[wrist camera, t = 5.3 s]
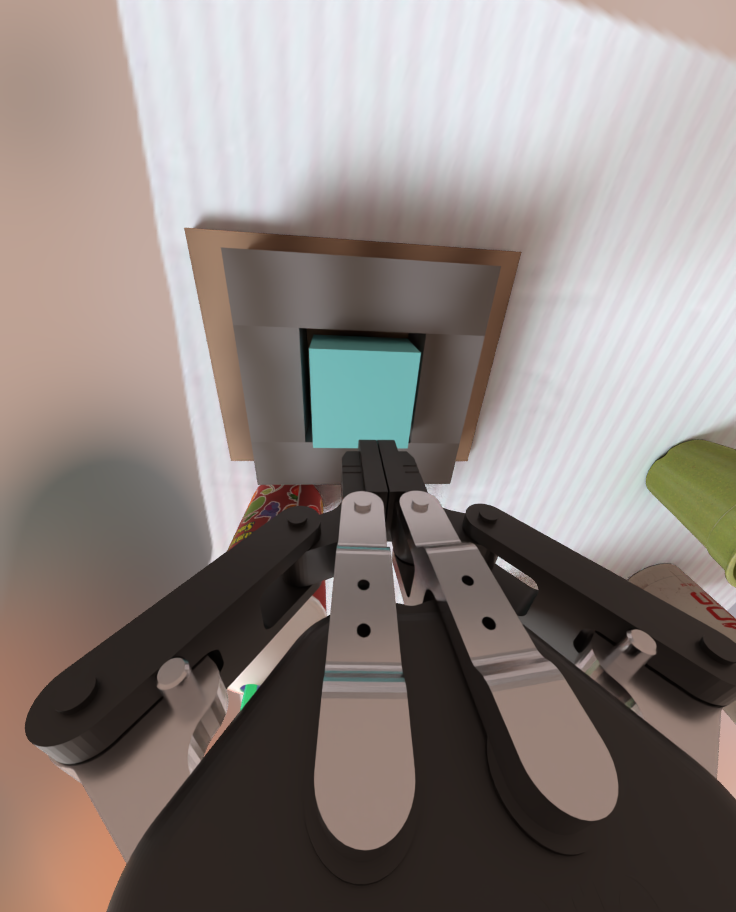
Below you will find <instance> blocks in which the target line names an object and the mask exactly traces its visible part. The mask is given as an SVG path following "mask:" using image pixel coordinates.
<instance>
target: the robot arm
mask: <svg viewBox="0 0 736 912" xmlns="http://www.w3.org/2000/svg"><path fill="white" fill-rule="evenodd" d="M341 495H342V502H341V504H340V505H339V506H338V507H337V508H335V509H334V510H332V511H330V512H327V513H323V514H319V513H318V512H317V511H316V510H314V509H313V508H310V507H307V506H294V507H290V508H287V509H285V510H283V511H282V512H280V513H279V514H278V515H276V516H275V517H273V518H272V519H271V520H269V521H268V522H267V523H265V524H264V525H263V526H261V527H260V528H258V529H257V530H256V531H254V532H253V533H252V534H250V535H249V536H247V537H246V538H245V539H243V540H242V541H241V542H239V543H238V544H237V545H235V546H234V547H232V548H231V549H230V550H228V551H227V552H226V553H224V554H223V555H221V556H220V557H219V558H217V559H216V560H215V561H213V562H212V563H210V564H209V565H208V566H206V567H205V568H204V569H203V570H201V571H200V572H198V573H197V574H195V575H194V576H193V577H191V578H190V579H189V580H187V581H186V582H185V583H183V584H182V585H181V586H179V587H178V588H176V589H175V590H174V591H172V592H171V593H169V594H168V595H167V596H166V597H164V598H163V599H161V600H160V601H158V602H157V603H156V604H154V605H153V606H152V607H150V608H149V609H148V610H146V611H145V612H143V613H142V614H141V615H139V616H138V617H137V618H135V619H134V620H132V621H131V622H130V623H128V624H127V625H126V626H124V627H123V628H122V629H120V630H119V631H117V632H116V633H115V634H113V635H112V636H111V637H109V638H108V639H106V640H105V641H104V642H102V643H101V644H100V645H98V646H97V647H96V648H94V649H93V650H92V651H90V652H89V653H87V654H86V655H84V656H83V657H82V658H80V659H79V660H78V661H76V662H75V663H74V664H72V665H71V666H70V667H68V668H67V669H65V670H64V671H63V672H61V673H60V674H59V675H58V676H56V677H55V678H54V679H53V680H52V681H51V682H50V683H49V684H48V685H47V686H46V687H45V688H44V689H43V690H42V692H41V693H40V694H39V695H38V697H37V698H36V699H35V701H34V703H33V705H32V706H31V708H30V710H29V712H28V715H27V718H26V722H25V733H26V736H27V738H28V740H29V741H30V742H31V743H32V744H34V745H35V746H36V747H38V748H39V749H41V750H42V751H43V752H45V753H46V754H48V756H49V758H50V760H51V761H52V762H53V763H54V764H55V765H56V766H58V767H59V768H60V769H62V770H63V771H65V772H66V773H67V774H69V775H70V776H72V777H73V778H74V779H76V780H77V781H79V782H80V783H82V785H83V787H84V788H85V790H86V792H87V794H88V796H89V797H90V799H91V801H92V803H93V804H94V806H95V808H96V810H97V811H98V813H99V815H100V817H101V819H102V821H103V822H104V824H105V826H106V828H107V830H108V831H109V833H110V835H111V837H112V839H113V840H114V842H115V844H116V846H117V848H118V849H119V851H120V853H121V855H122V856H123V858H124V860H125V862H126V866H125V868H124V870H123V872H122V874H121V877H120V879H119V881H118V883H117V886H116V888H115V890H114V893H113V895H112V898H111V900H110V903H109V906H108V909H107V912H736V799H735V798H734V797H733V796H732V795H731V794H730V793H729V791H728V790H727V789H726V788H725V787H724V786H723V785H722V784H721V783H720V782H719V781H718V780H717V768H718V752H719V751H718V750H719V737H720V720H721V710H722V709H723V708H725V707H727V706H728V705H729V704H731V703H733V702H734V701H736V643H735V642H734V641H732V640H731V639H730V638H728V637H727V636H725V635H724V634H722V633H720V632H719V631H717V630H715V629H713V628H712V627H710V626H708V625H706V624H704V623H703V622H701V621H699V620H697V619H695V618H694V617H692V616H690V615H688V614H686V613H685V612H683V611H681V610H679V609H677V608H676V607H674V606H672V605H670V604H668V603H667V602H665V601H663V600H661V599H659V598H658V597H656V596H654V595H652V594H650V593H649V592H647V591H645V590H643V589H642V588H640V587H638V586H636V585H634V584H633V583H631V582H629V581H627V580H625V579H624V578H622V577H620V576H618V575H616V574H615V573H613V572H611V571H609V570H607V569H606V568H604V567H602V566H600V565H598V564H597V563H595V562H593V561H591V560H589V559H588V558H586V557H584V556H582V555H580V554H579V553H577V552H575V551H573V550H571V549H570V548H568V547H566V546H564V545H562V544H561V543H559V542H557V541H555V540H553V539H552V538H550V537H548V536H546V535H544V534H543V533H541V532H539V531H537V530H535V529H534V528H532V527H530V526H528V525H526V524H525V523H523V522H521V521H519V520H517V519H516V518H514V517H512V516H510V515H508V514H507V513H505V512H503V511H501V510H499V509H498V508H495V507H493V506H490V505H487V504H474V505H471V506H469V507H468V508H467V510H466V513H461V512H456V511H451V510H448V509H445V508H442V506H441V504H440V502H439V501H438V499H437V498H436V497H434V496H433V495H431V494H429V493H428V492H427V489H426V487H425V484H424V482H423V479H422V477H421V474H420V473H419V469H418V467H417V464H416V462H415V459H414V457H412V456H411V455H410V454H409V453H408V452H407V451H398V449H397V446H396V443H395V440H377V441H376V440H359V441H358V451H346V453H345V454H344V455H343V457H342V471H341ZM388 541H392V545H393V551H392V559H391V551H390V547H387V542H388ZM498 556H499V557H500V558H502V559H503V560H505V561H506V562H508V563H509V564H511V565H512V566H514V567H516V568H517V569H519V570H520V571H522V572H523V573H525V574H526V575H528V576H529V577H531V578H532V579H533V580H534V581H535V582H536V584H537V586H538V589H539V590H535V589H533V588H531V587H529V586H528V585H526V584H525V583H523V582H522V581H520V580H519V579H517V578H516V577H514V576H513V575H511V574H510V573H508V572H507V571H505V570H504V569H502V568H501V567H500V566H498V565H497V564H495V563H496V560H497V558H498ZM392 562H393V565H394V569H395V572H396V576H397V580H398V583H399V587H400V590H401V594H402V597H403V601H404V604H398V603H396V602H395V591H394V581H393V570H392ZM332 577H334V581H333V591H332V602H331V613H330V615H329V616H327V617H325V618H322V619H321V620H319V621H318V622H316V623H314V624H313V625H312V626H310V627H309V628H308V629H307V630H306V631H305V632H304V633H303V634H302V635H301V636H299V638H298V639H297V640H296V641H295V642H294V644H293V645H292V646H291V648H290V649H289V650H288V651H287V653H286V654H285V655H284V656H283V658H282V659H281V660H280V661H279V663H278V664H277V665H276V666H275V668H274V669H273V670H272V672H271V673H270V674H269V675H268V677H267V678H266V679H265V680H264V682H263V683H262V684H261V685H260V687H259V688H258V689H257V691H256V692H255V693H254V694H253V696H252V697H251V698H250V699H249V701H248V702H247V703H246V704H245V706H244V707H243V708H242V710H241V711H240V712H239V713H238V715H237V716H236V717H235V718H234V720H233V721H232V722H231V723H230V725H229V726H228V727H227V728H226V730H225V731H224V732H223V734H222V735H221V736H220V737H219V739H218V740H217V741H216V742H215V744H214V745H213V746H212V748H211V749H210V750H209V751H208V753H207V754H206V755H205V756H204V754H205V752H206V749H207V747H208V745H209V743H210V741H211V739H212V738H213V736H214V735H215V733H216V732H217V730H218V729H219V728H220V726H221V724H222V722H223V720H224V717H225V715H226V712H227V708H228V694H227V690H226V689H227V688H228V687H229V686H230V685H231V684H232V683H233V682H234V681H235V680H236V678H237V677H238V676H239V675H240V674H241V673H242V672H243V671H244V670H245V669H246V667H247V666H248V665H249V664H250V663H251V662H252V661H253V660H254V659H255V658H256V657H257V655H258V654H259V653H260V652H261V651H262V650H263V649H264V648H265V647H266V646H267V644H268V643H269V642H270V641H271V640H272V639H273V638H274V637H275V636H276V635H277V634H278V632H279V631H280V630H281V629H282V628H283V627H284V626H285V625H286V624H287V623H288V621H289V620H290V619H291V618H292V617H293V616H294V615H295V614H296V613H297V612H298V610H299V609H300V608H301V607H302V606H303V605H304V604H305V603H306V602H307V601H308V600H309V598H310V597H311V596H312V595H313V594H314V593H315V592H316V591H317V590H318V588H319V587H320V585H321V583H322V581H324V580H327V579H329V578H332Z"/></svg>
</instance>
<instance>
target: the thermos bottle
mask: <svg viewBox="0 0 736 912" xmlns="http://www.w3.org/2000/svg"><path fill="white" fill-rule="evenodd" d="M628 581H629V582H631V583H633V584H634V585H636V586H638V587H640V588H642V589H643V590H645V591H647V592H649V593H650V594H652V595H654V596H656V597H658V598H659V599H661V600H663V601H665V602H667V603H668V604H670V605H672V606H674V607H676V608H677V609H679V610H681V611H683V612H685V613H686V614H688V615H690V616H692V617H694V618H695V619H697V620H699V621H701V622H703V623H704V624H706V625H708V626H710V627H712V628H713V629H715V630H717V631H719V632H720V633H722V634H724V635H725V636H727V637H728V638H730V639H731V640H732V641H734V642H735V643H736V619H735V618H734V617H733V616H732V615H731V614H730V613H729V612H728V611H726V610H725V609H724V608H723V607H722V606H721V605H720V604H719V603H717V602H716V601H715V600H714V599H713V598H712V597H711V596H710V595H708V594H707V593H706V592H705V591H704V590H703V589H702V588H701V587H699V586H698V585H697V584H696V583H695V582H694V581H693V580H692V579H690V578H689V577H688V576H687V575H686V574H685V573H684V572H683V571H681V570H680V569H679V568H678V567H677V566H675V565H672V564H658V565H654V566H651V567H648V568H646V569H643V570H641V571H639V572H638V573H636V574H635V575H633V576H632V577H631V578H630V579H629V580H628ZM723 710H724V711H725V713H726V714H727V715H728V716H729V717H730V718H731V720H732V721H733V722H734V723H735V724H736V701H734V702H733V703H731V704H729V705H728V706H727V707H725V708H723Z"/></svg>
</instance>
